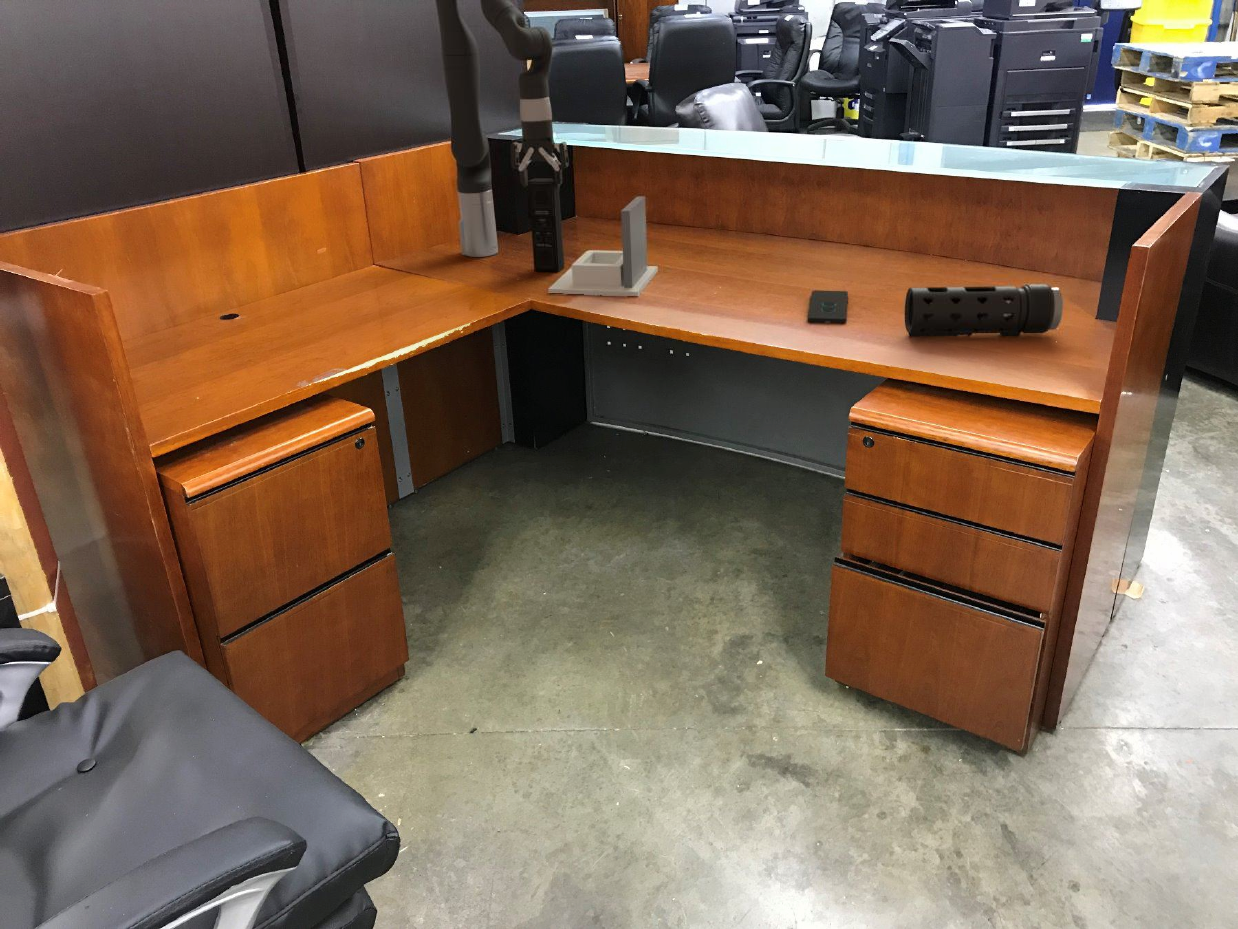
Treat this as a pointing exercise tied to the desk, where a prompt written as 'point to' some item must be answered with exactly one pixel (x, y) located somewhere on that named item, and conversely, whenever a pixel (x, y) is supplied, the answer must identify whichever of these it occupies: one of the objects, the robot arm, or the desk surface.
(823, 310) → the smart home device
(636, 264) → the docking stand
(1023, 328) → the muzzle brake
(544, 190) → the portable radio
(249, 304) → the desk surface
